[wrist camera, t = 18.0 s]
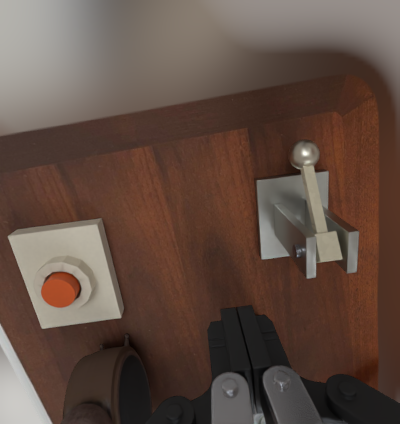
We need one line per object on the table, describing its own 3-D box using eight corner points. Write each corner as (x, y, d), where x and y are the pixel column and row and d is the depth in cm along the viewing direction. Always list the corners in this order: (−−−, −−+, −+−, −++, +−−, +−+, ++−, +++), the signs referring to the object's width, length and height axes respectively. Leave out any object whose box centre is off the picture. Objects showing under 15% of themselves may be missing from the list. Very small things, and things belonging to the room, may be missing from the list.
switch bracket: (254, 178, 38) (283, 207, 26) (324, 169, 38) (383, 194, 26) (259, 255, 41) (286, 309, 30) (323, 247, 41) (374, 297, 30)
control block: (16, 229, 38) (-2, 242, 34) (101, 217, 38) (92, 229, 34) (48, 318, 43) (35, 338, 39) (124, 308, 43) (118, 327, 39)
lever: (282, 149, 34) (290, 136, 31) (310, 145, 34) (321, 132, 31) (305, 263, 31) (316, 263, 28) (335, 259, 31) (350, 258, 28)
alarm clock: (163, 385, 48) (150, 564, 29) (120, 396, 48) (79, 580, 29) (133, 314, 43) (95, 472, 24) (86, 326, 44) (11, 492, 25)
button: (42, 274, 36) (36, 281, 35) (75, 269, 36) (70, 277, 35) (52, 301, 38) (46, 310, 36) (83, 297, 38) (78, 305, 36)
